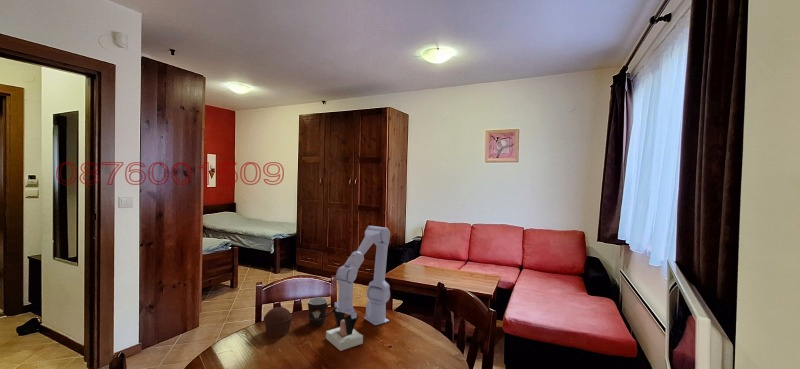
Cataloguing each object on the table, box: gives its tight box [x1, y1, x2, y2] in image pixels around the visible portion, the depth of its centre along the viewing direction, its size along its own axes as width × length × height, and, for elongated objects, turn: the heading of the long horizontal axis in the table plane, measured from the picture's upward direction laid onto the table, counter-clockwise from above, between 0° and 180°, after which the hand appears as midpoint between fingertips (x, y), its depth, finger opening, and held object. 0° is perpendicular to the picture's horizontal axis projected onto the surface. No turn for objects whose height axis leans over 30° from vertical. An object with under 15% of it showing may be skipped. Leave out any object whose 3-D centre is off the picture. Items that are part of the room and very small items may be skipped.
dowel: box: [340, 319, 349, 337], centre depth 130 cm, size 3×3×8 cm
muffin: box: [263, 306, 293, 338], centre depth 135 cm, size 12×11×10 cm
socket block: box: [325, 327, 364, 352], centre depth 130 cm, size 12×10×3 cm
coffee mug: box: [307, 297, 335, 327], centre depth 145 cm, size 12×9×10 cm
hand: (344, 330), depth 130 cm, fingers open, 7 cm apart
